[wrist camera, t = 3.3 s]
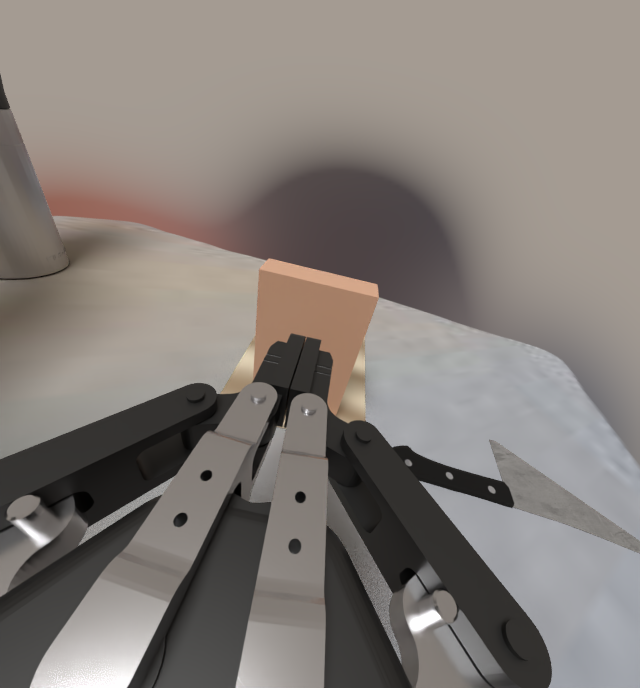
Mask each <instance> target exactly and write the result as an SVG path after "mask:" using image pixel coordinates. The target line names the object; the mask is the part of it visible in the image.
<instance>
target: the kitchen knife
mask: <svg viewBox="0 0 640 688" xmlns="http://www.w3.org/2000/svg"><path fill="white" fill-rule="evenodd" d="M489 441H490V444H491V447H492V450H493V454H494V457H495V460H496V463H497V466H498V469H499V472H500V475H501V478H502V481H503V482H502V481H498V480H494V479H491V478H487V477H483V476H480V475H476V474H473V473H469V472H466V471H462V470H459V469H455V468H452V467H449V466H446V465H443V464H440V463H437V462H435V461H432V460H430V459H427V458H425V457H423V456H421V455H419V454H417V453H415V452H413V451H412V450H411V448H410V447H408V446H396V447H393V449H394V451H395V452H396V453H397V454H398V456H399V457H400V458H401V459H402V461H403V462H404V463H405V464H406V466H407V467H408V468H409V469H410V471H411V472H412V473H413V474H414V475H415V477H416V478H417V479H418V480H419V481H423V482H426V483H430V484H433V485H437V486H440V487H443V488H446V489H450V490H453V491H457V492H461V493H464V494H468V495H471V496H475V497H478V498H482V499H485V500H488V501H491V502H494V503H497V504H500V505H504V506H507V507H511V508H512V507H514V508H517V509H520V510H523V511H526V512H529V513H532V514H535V515H539V516H542V517H545V518H548V519H551V520H555V521H558V522H561V523H563V524H566V525H569V526H572V527H574V528H577V529H580V530H582V531H585V532H588V533H590V534H593V535H595V536H598V537H601V538H603V539H606V540H608V541H610V542H613V543H615V544H618V545H620V546H623V547H625V548H628V549H630V550H633V551H635V552H637V553H640V541H639V540H638V539H636V538H635V537H633V536H632V535H630V534H629V533H627V532H626V531H625V530H623V529H622V528H620V527H619V526H617V525H616V524H614V523H613V522H611V521H610V520H609V519H607V518H606V517H604V516H603V515H601V514H600V513H598V512H597V511H596V510H594V509H593V508H591V507H590V506H588V505H587V504H585V503H584V502H583V501H581V500H580V499H578V498H577V497H575V496H574V495H572V494H571V493H570V492H568V491H567V490H565V489H564V488H562V487H561V486H559V485H558V484H557V483H555V482H554V481H552V480H551V479H549V478H548V477H546V476H545V475H544V474H542V473H541V472H539V471H538V470H536V469H535V468H533V467H532V466H530V465H529V464H528V463H526V462H525V461H523V460H522V459H520V458H519V457H517V456H516V455H515V454H513V453H512V452H510V451H509V450H507V449H506V448H504V447H503V446H502V445H500V444H499V443H497V442H496V441H492V440H489Z"/></svg>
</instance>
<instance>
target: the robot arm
mask: <svg viewBox="0 0 640 688" xmlns="http://www.w3.org/2000/svg"><path fill="white" fill-rule="evenodd" d="M9 108H10V106H9V103H8V101H7V98H6V95H5V93H4V89H3V84H2V80H1V75H0V278H30V277H38V276H43V275H48V274H51V273H55V272H57V271H60V270H62V269H64V268H65V267H67V266H68V265H69V259H68V257H67V254H66V250H65V248H64V246H63V244H62V241H61V238H60V236H59V233H58V230H57V228H56V225H55V222H54V220H53V217H52V215H51V212H50V209H49V207H48V205H47V202H46V199H45V196H44V194H43V191H42V189H41V186H40V184H39V181H38V178H37V176H36V173H35V171H34V168H33V165H32V163H31V160H30V157H29V155H28V152H27V150H26V147H25V144H24V143H23V139H22V137H21V134H20V132H19V129H18V127H17V124H16V121H15V119H14V116H13V113H12V111H11V109H9ZM305 339H306V341H305ZM320 344H321V340H319V339H315V338H311V337H307V338H306V336H302V335H297V334H293V333H291V334H290V336H289V339H288V341H287V343H285V342H281V341H277V342H275V343H274V344H273V345H271V346H270V348H269V350H268V352H267V354H266V356H265V358H264V360H263V362H262V364H261V366H260V368H259V370H258V372H257V374H256V376H255V378H254V380H253V382H252V383H251V384H248V385H246V386H245V387H244V388H243V389H242V390H241V392H238V393H232V394H217V393H216V391H215V389H214V388H213V387H212V386H210V385H208V384H204V383H194V384H190V385H187V386H184V387H182V388H179V389H177V390H174V391H172V392H169V393H167V394H164V395H162V396H159V397H157V398H154V399H152V400H149V401H147V402H144V403H142V404H139V405H137V406H134V407H131V408H129V409H126V410H124V411H121V412H119V413H116V414H114V415H111V416H109V417H106V418H104V419H101V420H99V421H96V422H94V423H91V424H89V425H86V426H84V427H81V428H78V429H76V430H73V431H71V432H68V433H66V434H63V435H61V436H58V437H56V438H53V439H51V440H48V441H46V442H43V443H41V444H38V445H36V446H33V447H30V448H28V449H25V450H23V451H20V452H18V453H15V454H13V455H10V456H8V457H5V458H3V459H0V688H548V687H549V685H550V682H551V677H552V668H551V661H550V657H549V653H548V650H547V647H546V645H545V643H544V640H543V638H542V637H541V635H540V633H539V631H538V629H537V628H536V626H535V625H534V623H533V622H532V621H531V619H530V618H529V617H528V616H527V614H526V613H525V612H524V611H523V609H522V608H521V607H520V606H519V604H518V603H517V602H516V601H515V599H514V598H513V597H512V596H511V595H510V593H509V592H508V591H507V590H506V588H505V587H504V586H503V585H502V583H501V582H500V581H499V580H498V578H497V577H496V576H495V575H494V573H493V572H492V571H491V570H490V568H489V567H488V566H487V565H486V564H485V562H484V561H483V560H482V559H481V557H480V556H479V555H478V554H477V552H476V551H475V550H474V549H473V547H472V546H471V545H470V544H469V542H468V541H467V540H466V539H465V537H464V536H463V535H462V534H461V533H460V531H459V530H458V529H457V528H456V526H455V525H454V524H453V523H452V521H451V520H450V519H449V518H448V516H447V515H446V514H445V513H444V511H443V510H442V509H441V508H440V506H439V505H438V504H437V503H436V502H435V500H434V499H433V498H432V497H431V495H430V494H429V493H428V492H427V490H426V489H425V488H424V487H423V485H422V484H421V483H420V482H419V480H418V479H417V478H416V477H415V475H414V474H413V473H412V472H411V471H410V469H409V468H408V467H407V466H406V464H405V463H404V462H403V461H402V459H401V458H400V457H399V456H398V454H397V453H396V452H395V451H394V449H393V448H392V447H391V446H390V445H389V443H388V442H387V441H386V440H385V438H384V437H383V436H382V435H381V433H380V432H379V431H378V430H377V429H376V427H374V426H373V425H372V424H370V423H368V422H366V421H362V420H354V421H351V422H349V423H347V422H345V421H343V420H341V419H339V418H338V417H336V416H335V415H334V414H333V413H332V412H331V410H330V409H329V407H328V402H327V400H328V393H329V386H330V379H331V372H332V366H333V359H332V356H331V354H330V353H329V352H325V351H321V350H319V349H320ZM285 417H286V418H285ZM284 420H285V424H284V428H286V432H285V437H284V443H283V448H282V452H281V457H280V462H279V467H278V472H277V478H276V483H275V488H274V493H273V498H272V502H267V503H250V502H249V499H250V496H251V492H252V488H253V485H254V483H255V480H256V478H257V476H258V473H259V471H260V468H261V466H262V464H263V461H264V459H265V456H266V454H267V452H268V449H269V447H270V444H271V442H272V438H273V436H274V433H275V430H276V427H277V426H280V427H282V426H283V423H284ZM175 475H176V476H175ZM174 476H175V477H174ZM172 477H174V479H173V480H172V482H171V483H170V485H169V486H168V488H167V489H166V490H165V492H164V493H163V495H160V496H158V497H156V498H154V499H152V500H150V501H148V502H146V503H144V504H143V505H141V506H140V507H138V508H137V509H135V510H134V511H132V512H130V513H129V514H127V515H126V516H124V517H123V518H121V519H120V520H118V521H117V522H115V523H114V524H112V525H110V526H109V527H107V528H106V529H104V530H103V531H101V532H100V533H98V534H97V535H95V536H93V537H92V538H90V539H89V540H87V541H86V542H84V543H83V544H81V545H80V546H78V545H79V543H80V542H81V540H82V538H83V537H84V535H85V533H86V530H87V528H88V527H89V526H91V525H93V524H94V523H96V522H98V521H99V520H101V519H103V518H104V517H106V516H108V515H110V514H111V513H113V512H115V511H116V510H118V509H120V508H121V507H123V506H125V505H126V504H128V503H130V502H131V501H133V500H135V499H137V498H138V497H140V496H142V495H143V494H145V493H147V492H148V491H150V490H152V489H153V488H155V487H157V486H158V485H160V484H162V483H164V482H165V481H167V480H169V479H170V478H172ZM328 478H329V481H330V483H331V485H332V487H333V489H334V490H335V492H336V494H337V496H338V497H339V499H340V501H341V503H342V505H343V506H344V508H345V510H346V512H347V513H348V515H349V517H350V519H351V520H352V522H353V524H354V526H355V527H356V529H357V531H358V533H359V535H360V536H361V538H362V540H363V542H364V543H365V545H366V547H367V549H368V550H369V552H370V554H371V556H372V557H373V559H374V561H375V563H376V564H377V566H378V568H379V570H380V572H381V573H382V575H383V577H384V579H385V580H386V582H387V584H388V586H389V587H390V589H391V591H392V593H393V595H392V598H391V600H390V605H389V618H390V623H391V627H392V630H393V633H394V635H395V638H396V640H397V643H398V646H399V649H400V654H401V662H402V665H401V663H400V661H399V659H398V657H397V655H396V652H395V650H394V648H393V646H392V644H391V642H390V640H389V638H388V636H387V634H386V632H385V630H384V628H383V625H382V623H381V621H380V619H379V617H378V615H377V613H376V611H375V609H374V607H373V605H372V603H371V601H370V598H369V596H368V594H367V592H366V590H365V588H364V586H363V584H362V582H361V580H360V578H359V576H358V574H357V571H356V569H355V567H354V565H353V563H352V561H351V559H350V557H349V555H348V553H347V551H346V549H345V547H344V546H343V544H342V542H341V541H340V539H339V538H338V537H337V536H336V534H335V533H334V532H333V531H332V530H331V529H330V528H329V527H328V526H327V525H326V517H327V488H328Z"/></svg>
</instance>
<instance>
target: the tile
mask: <svg viewBox="0 0 640 688" xmlns="http://www.w3.org/2000/svg"><path fill="white" fill-rule="evenodd" d="M378 299H379V295H378V287H377V284H373V283H369V282H365V281H361V280H357V279H352V278H348V277H344V276H340V275H335V274H331V273H328V272H323V271H319V270H315V269H311V268H307V267H302V266H298V265H294V264H290V263H286V262H282V261H277V260H273V259H268V260H267V261H266V262H265V263H264V264H263V266H262V267H261V268H260V269H259V282H258V300H257V318H256V336H255V353H254V371H253V380H254V378H255V376H256V374H257V372H258V370H259V368H260V366H261V364H262V362H263V360H264V358H265V356H266V354H267V352H268V350H269V348H270V346H271V345H273V344H274V343H275V342H277V341H281V342H285V343H287V341H288V339H289V336H290V334H291V333H293V334H297V335H302V336H306V338H307V337H311V338H315V339H319V340H321V344H320V349H319V350H321V351H325V352H329V353H330V354H331V356H332V359H333V366H332V372H331V379H330V386H329V393H328V400H327V402H328V407H329V409H330V410H331V412H332V413H333V414H334V415H335V416H336V414H337V411H338V409H339V406H340V403H341V400H342V398H343V395H344V392H345V389H346V387H347V384H348V381H349V378H350V376H351V373H352V370H353V367H354V365H355V362H356V359H357V356H358V354H359V351H360V348H361V345H362V343H363V340H364V337H365V334H366V332H367V329H368V326H369V323H370V321H371V318H372V315H373V312H374V310H375V307H376V304H377V301H378ZM305 341H306V339H305Z"/></svg>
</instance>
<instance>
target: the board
mask: <svg viewBox="0 0 640 688" xmlns="http://www.w3.org/2000/svg"><path fill="white" fill-rule="evenodd" d="M255 336H256V335H255ZM254 353H255V337H254V338H253V340H252V342H251V343H250V345H249V347H248V348H247V350H246V352H245V353H244V355H243V357H242V358H241V360H240V362H239V363H238V365H237V367H236V368H235V370H234V372H233V373H232V375H231V377H230V378H229V380H228V382H227V383H226V385H225V387H224V388H223V390H222V392H221V393H220V394H232V393H238V392H241V390H242V389H243V388H244V387H245V386H246V385H248V384H251V383H252V382H253V371H254ZM336 417H338V418H339V419H341V420H343V421H345V422H347V423H349V422H351V421H354V420H362V421H365V337H364V340H363V343H362V345H361V348H360V351H359V354H358V356H357V359H356V362H355V365H354V367H353V370H352V373H351V376H350V378H349V381H348V384H347V387H346V389H345V392H344V395H343V398H342V400H341V403H340V406H339V409H338V411H337V414H336ZM285 418H286V417H285ZM284 424H285V420H284V423H283V426H282V427H280V426H277V427H280V428H284ZM284 429H286V428H284Z"/></svg>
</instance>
